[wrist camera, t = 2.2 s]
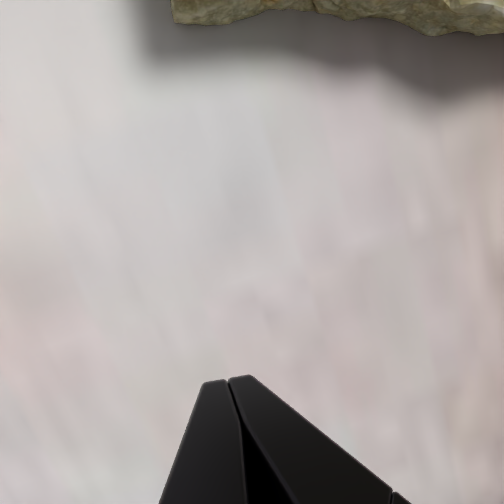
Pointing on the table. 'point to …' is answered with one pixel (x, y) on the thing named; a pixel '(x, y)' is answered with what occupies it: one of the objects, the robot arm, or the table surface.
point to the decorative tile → (358, 12)
